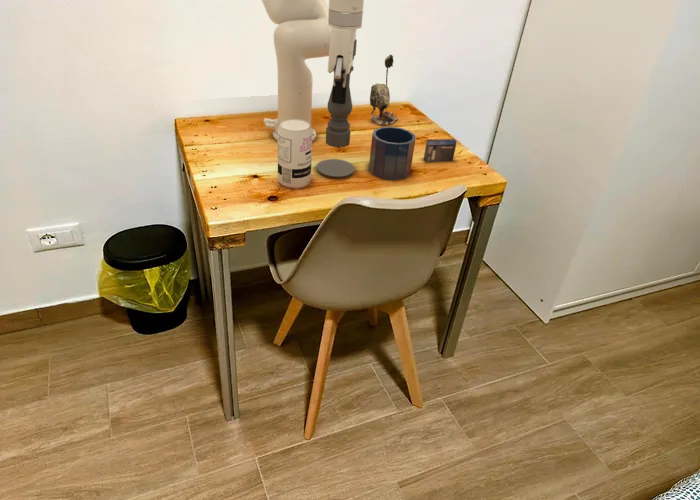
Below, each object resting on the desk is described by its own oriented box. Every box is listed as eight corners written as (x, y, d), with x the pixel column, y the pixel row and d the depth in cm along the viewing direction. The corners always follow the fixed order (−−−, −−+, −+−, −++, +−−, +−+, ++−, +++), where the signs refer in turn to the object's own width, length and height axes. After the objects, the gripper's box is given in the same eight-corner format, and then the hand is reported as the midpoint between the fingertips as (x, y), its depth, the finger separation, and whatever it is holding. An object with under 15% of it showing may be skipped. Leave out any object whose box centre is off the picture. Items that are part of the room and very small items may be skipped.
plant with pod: (360, 119, 168) (365, 54, 157) (388, 114, 174) (396, 51, 162) (374, 128, 163) (381, 62, 151) (403, 123, 168) (412, 59, 157)
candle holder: (341, 149, 130) (348, 44, 116) (320, 142, 132) (325, 38, 118) (354, 141, 134) (363, 39, 120) (334, 135, 137) (340, 34, 122)
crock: (366, 177, 136) (370, 141, 130) (371, 158, 145) (374, 124, 139) (409, 182, 135) (414, 146, 130) (410, 163, 144) (416, 129, 139)
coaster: (313, 176, 134) (313, 173, 134) (320, 159, 142) (320, 156, 142) (351, 181, 134) (352, 178, 133) (356, 164, 142) (356, 161, 141)
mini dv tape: (425, 162, 146) (428, 142, 143) (423, 159, 147) (426, 139, 144) (452, 161, 148) (456, 141, 144) (450, 158, 149) (454, 138, 146)
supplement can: (280, 172, 134) (279, 116, 126) (312, 175, 135) (314, 119, 126) (275, 188, 128) (274, 129, 119) (309, 190, 128) (311, 133, 119)
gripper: (334, 9, 124) (330, 86, 134) (321, 25, 110) (318, 109, 120) (366, 12, 123) (359, 89, 133) (357, 28, 109) (351, 113, 120)
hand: (340, 98), depth 127 cm, fingers closed on candle holder, 4 cm apart
